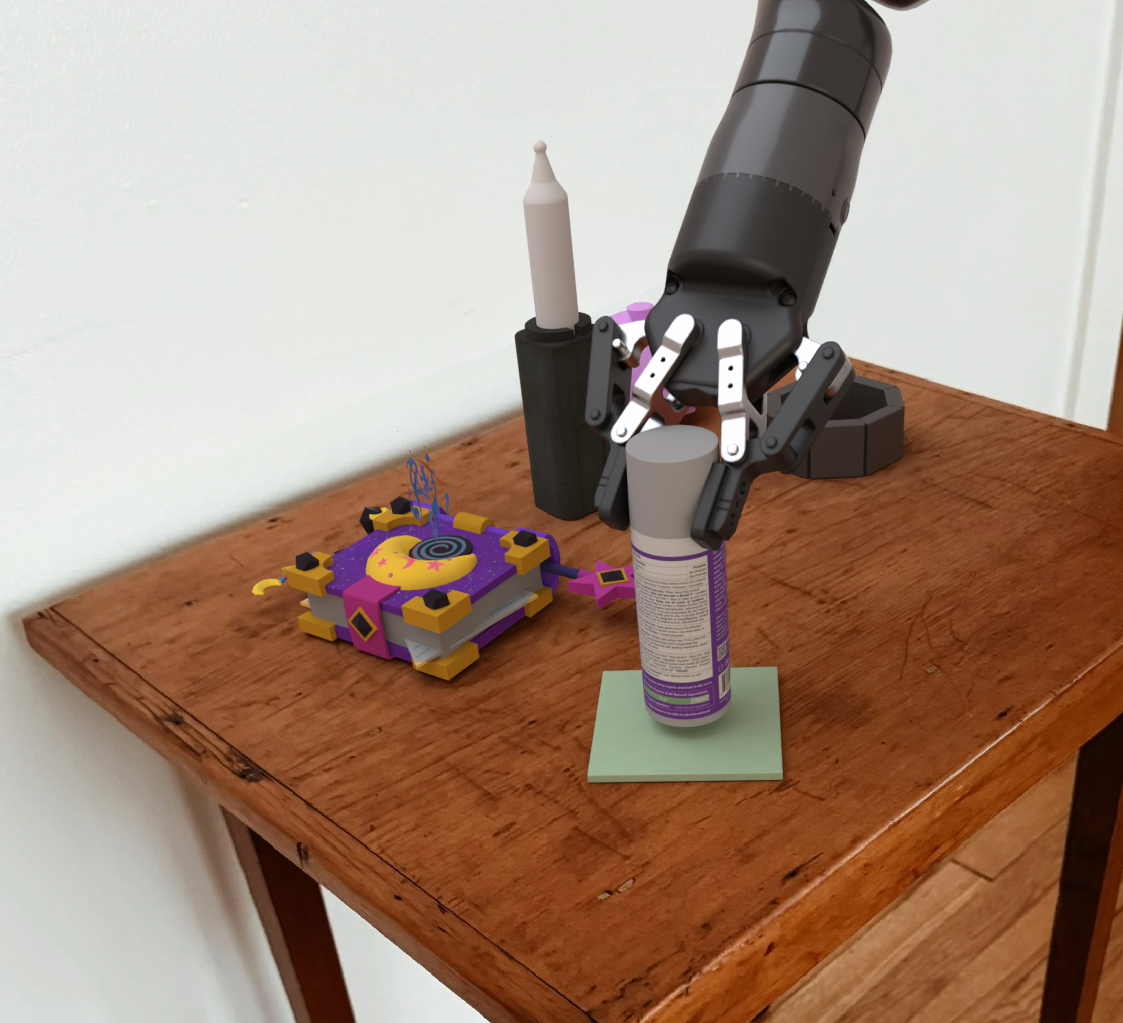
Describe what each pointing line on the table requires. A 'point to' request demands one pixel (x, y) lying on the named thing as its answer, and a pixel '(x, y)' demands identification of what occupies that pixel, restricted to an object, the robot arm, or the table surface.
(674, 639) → the container
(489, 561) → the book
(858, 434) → the ring
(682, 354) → the robot arm
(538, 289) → the candle
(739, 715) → the mat
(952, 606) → the table surface
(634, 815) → the table surface
